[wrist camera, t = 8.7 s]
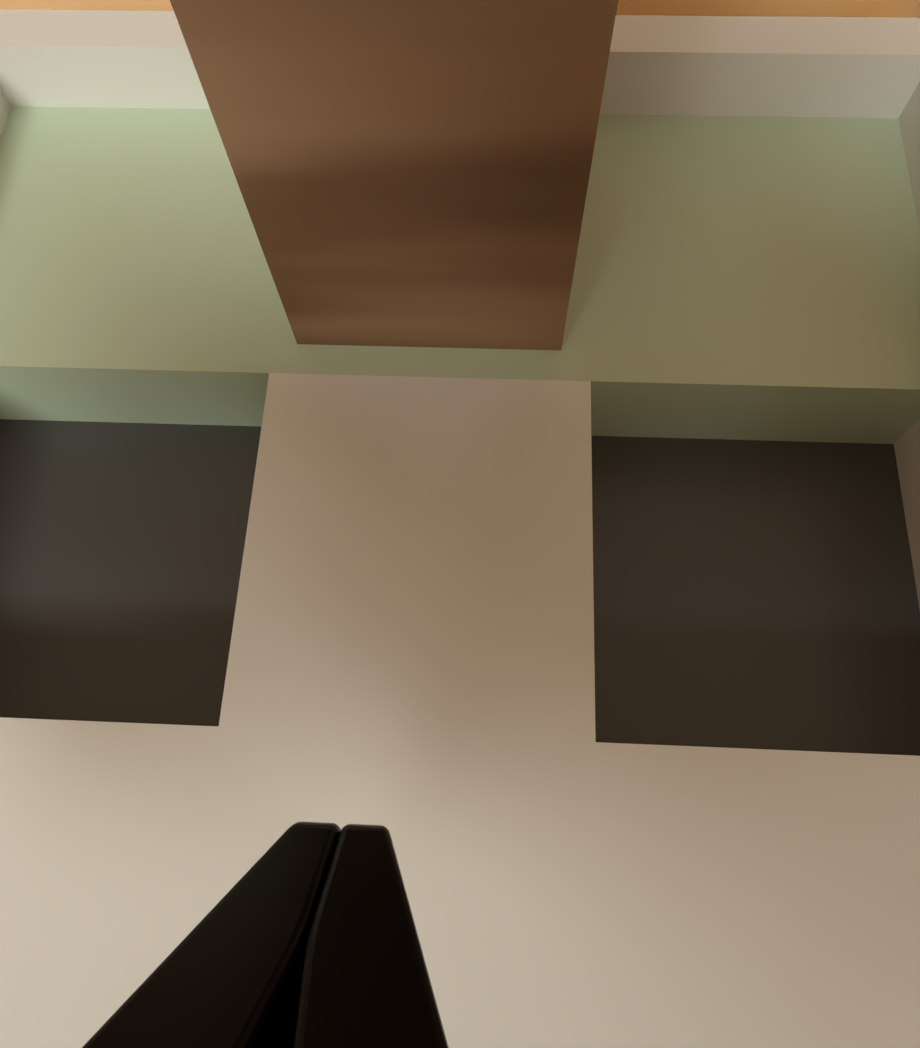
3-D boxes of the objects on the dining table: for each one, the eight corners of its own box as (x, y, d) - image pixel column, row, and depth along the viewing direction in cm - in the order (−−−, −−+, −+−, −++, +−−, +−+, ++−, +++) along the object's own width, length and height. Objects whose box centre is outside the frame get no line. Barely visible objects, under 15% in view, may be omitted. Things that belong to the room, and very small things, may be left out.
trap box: (1076, 1254, 13) (1325, 1426, 9) (-258, 1169, 13) (-541, 1294, 10) (886, 171, 20) (978, 18, 16) (34, 158, 21) (-63, 8, 17)
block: (561, 350, 16) (679, -376, 6) (297, 344, 16) (33, -371, 7) (561, 144, 17) (653, -661, 8) (323, 141, 18) (145, -649, 8)
